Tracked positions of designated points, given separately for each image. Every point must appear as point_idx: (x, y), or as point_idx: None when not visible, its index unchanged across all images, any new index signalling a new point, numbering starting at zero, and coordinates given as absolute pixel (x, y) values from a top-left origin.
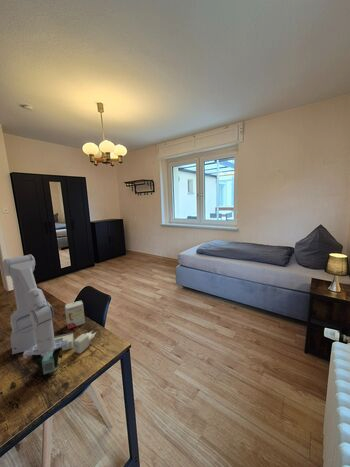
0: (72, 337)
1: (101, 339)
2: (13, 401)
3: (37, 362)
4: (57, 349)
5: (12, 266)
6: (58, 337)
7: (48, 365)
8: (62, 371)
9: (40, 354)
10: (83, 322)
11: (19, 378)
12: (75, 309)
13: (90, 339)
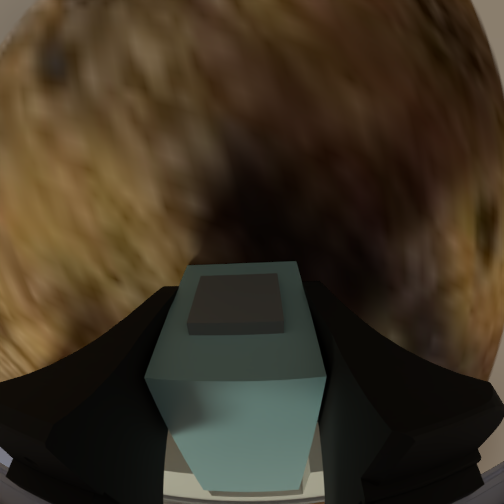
0: None
1: None
2: (462, 59)
3: (397, 372)
4: (41, 485)
5: None
6: (242, 500)
7: (231, 312)
8: (117, 234)
9: (354, 501)
10: (163, 500)
11: (459, 284)
12: None
13: None
